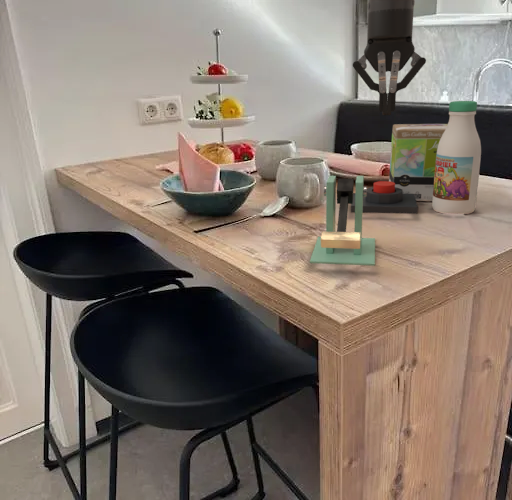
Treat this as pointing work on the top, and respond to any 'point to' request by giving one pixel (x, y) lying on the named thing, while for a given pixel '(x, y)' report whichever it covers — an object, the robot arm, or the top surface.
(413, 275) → the top surface
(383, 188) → the red button
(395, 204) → the button box
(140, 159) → the top surface
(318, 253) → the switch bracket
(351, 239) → the switch lever
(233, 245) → the top surface
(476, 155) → the milk bottle
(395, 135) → the tea box
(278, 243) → the top surface
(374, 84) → the robot arm
